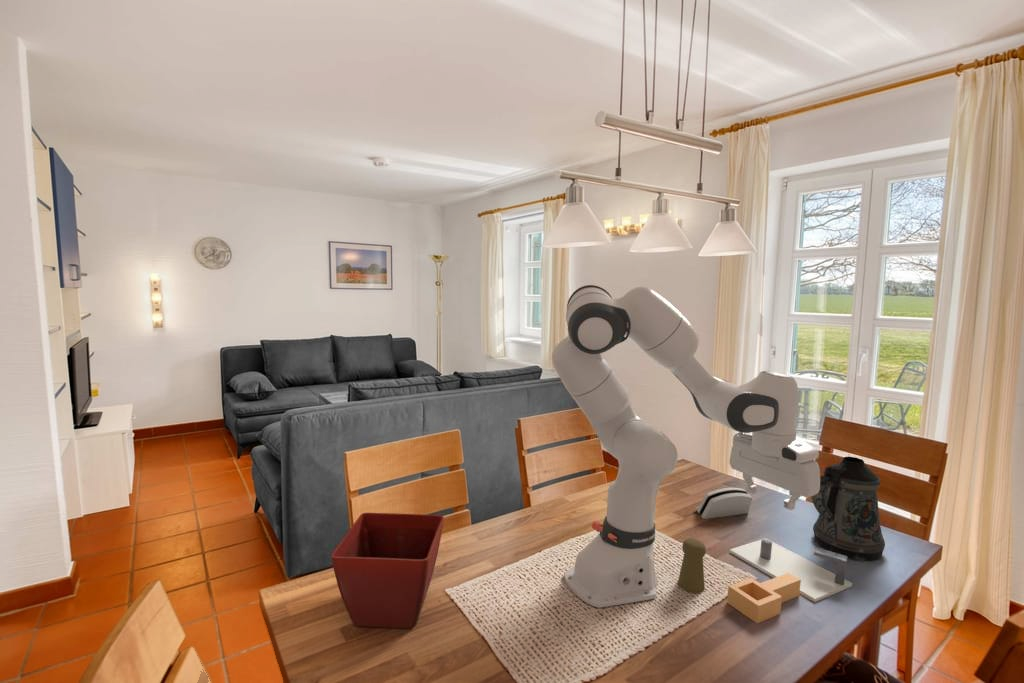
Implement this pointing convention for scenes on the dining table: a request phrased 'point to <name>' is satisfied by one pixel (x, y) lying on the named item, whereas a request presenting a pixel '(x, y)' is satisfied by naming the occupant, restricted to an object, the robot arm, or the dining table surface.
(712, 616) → the dining table surface
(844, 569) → the bracket
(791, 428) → the robot arm
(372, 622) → the plant pot
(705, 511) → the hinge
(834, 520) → the beer stein
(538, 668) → the dining table surface
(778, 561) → the board
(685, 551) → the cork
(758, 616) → the link
